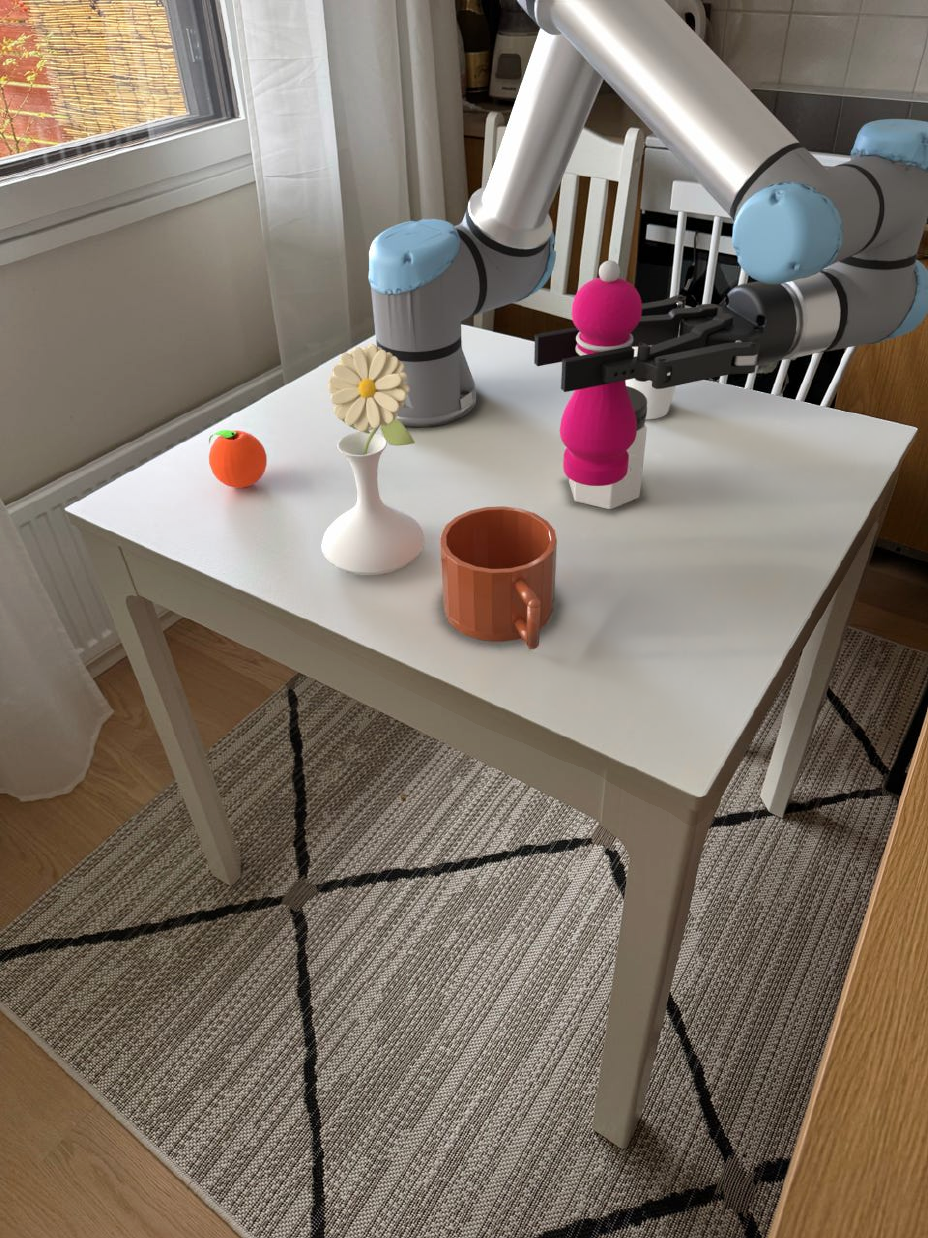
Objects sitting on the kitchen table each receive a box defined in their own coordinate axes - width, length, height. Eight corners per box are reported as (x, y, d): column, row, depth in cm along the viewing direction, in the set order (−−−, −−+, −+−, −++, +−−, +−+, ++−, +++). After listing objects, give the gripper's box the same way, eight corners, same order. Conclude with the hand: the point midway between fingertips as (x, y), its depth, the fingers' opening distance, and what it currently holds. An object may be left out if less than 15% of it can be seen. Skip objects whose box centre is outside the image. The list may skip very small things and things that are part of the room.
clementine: (196, 487, 113) (184, 436, 108) (234, 462, 117) (223, 412, 113) (246, 504, 110) (234, 451, 105) (282, 477, 114) (273, 426, 110)
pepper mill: (616, 496, 85) (635, 280, 72) (545, 478, 87) (552, 268, 75) (643, 461, 89) (666, 253, 77) (575, 445, 92) (586, 242, 79)
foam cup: (624, 388, 131) (632, 299, 122) (687, 400, 127) (700, 308, 119) (602, 417, 124) (609, 324, 116) (668, 429, 121) (680, 335, 112)
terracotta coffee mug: (429, 587, 96) (425, 520, 90) (527, 564, 98) (528, 497, 93) (479, 678, 85) (478, 607, 79) (588, 649, 88) (593, 578, 82)
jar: (596, 517, 105) (604, 423, 97) (553, 487, 110) (557, 396, 103) (654, 493, 109) (665, 401, 101) (610, 465, 114) (617, 375, 106)
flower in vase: (302, 557, 101) (264, 340, 85) (377, 514, 107) (354, 304, 91) (382, 605, 94) (358, 378, 78) (457, 556, 100) (449, 337, 84)
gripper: (827, 397, 81) (593, 447, 75) (716, 325, 94) (509, 363, 88) (847, 314, 76) (599, 361, 70) (727, 251, 89) (510, 286, 84)
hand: (550, 362), depth 79 cm, fingers closed on pepper mill, 5 cm apart
